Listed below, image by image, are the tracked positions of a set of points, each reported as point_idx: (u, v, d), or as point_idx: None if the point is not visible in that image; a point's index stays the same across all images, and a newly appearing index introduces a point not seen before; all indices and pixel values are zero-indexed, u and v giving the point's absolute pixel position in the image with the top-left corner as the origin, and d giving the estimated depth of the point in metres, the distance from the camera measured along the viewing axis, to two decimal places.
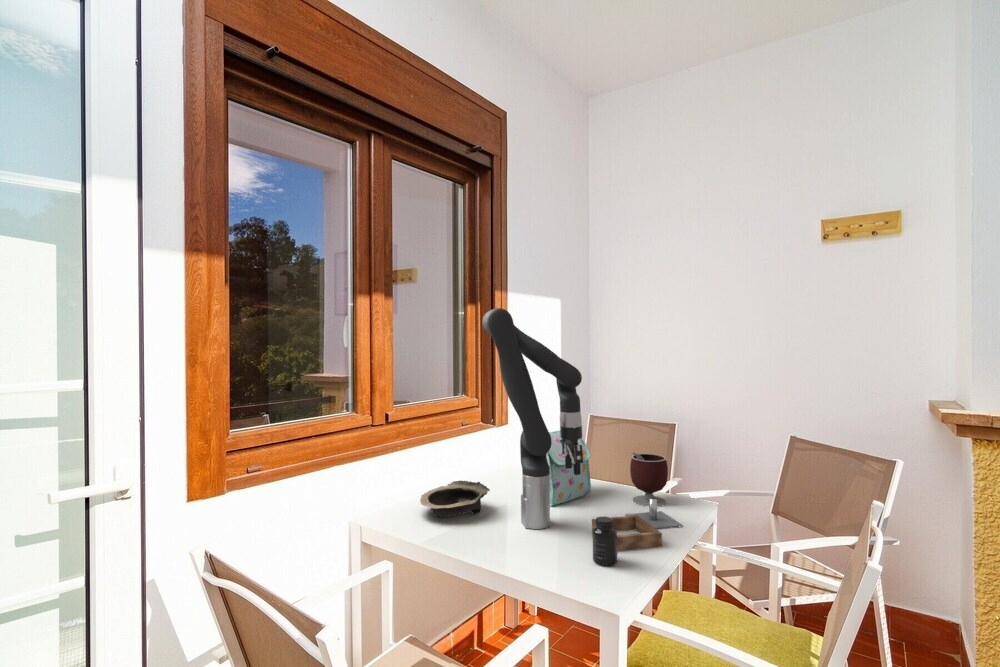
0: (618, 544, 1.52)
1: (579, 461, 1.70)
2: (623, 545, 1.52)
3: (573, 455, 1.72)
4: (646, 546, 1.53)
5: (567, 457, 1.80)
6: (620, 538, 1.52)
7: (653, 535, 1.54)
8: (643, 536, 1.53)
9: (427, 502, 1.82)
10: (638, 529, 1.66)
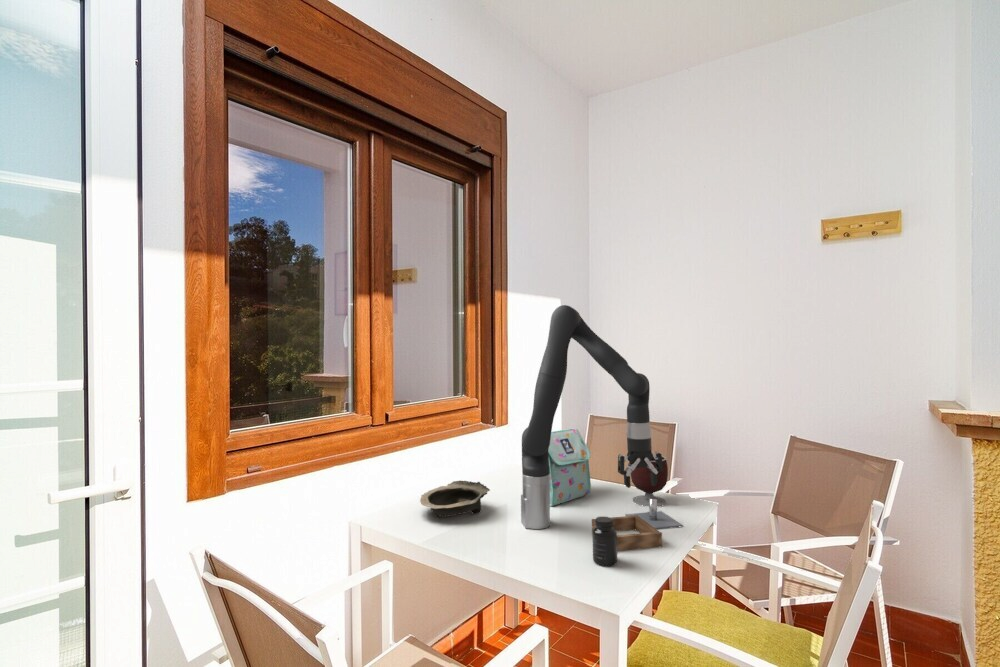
0: (618, 544, 1.52)
1: None
2: (623, 545, 1.52)
3: None
4: (646, 546, 1.53)
5: None
6: (620, 538, 1.52)
7: (653, 535, 1.54)
8: (643, 536, 1.53)
9: (427, 502, 1.82)
10: (638, 529, 1.66)
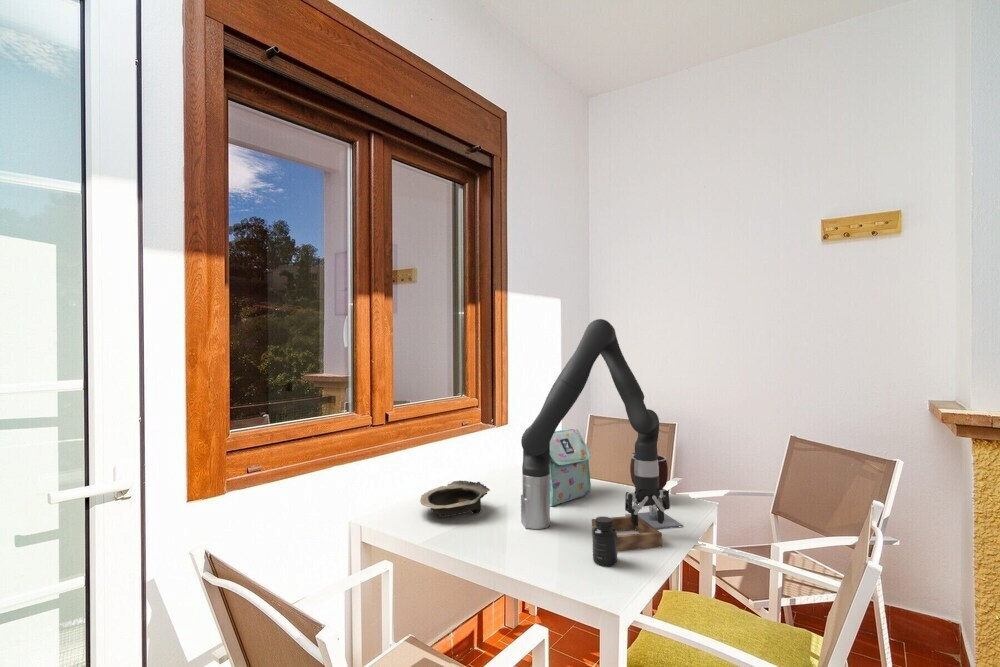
0: (618, 544, 1.52)
1: None
2: (623, 545, 1.52)
3: None
4: (646, 546, 1.53)
5: None
6: (620, 538, 1.52)
7: (653, 535, 1.54)
8: (643, 536, 1.53)
9: (427, 502, 1.82)
10: (638, 529, 1.66)
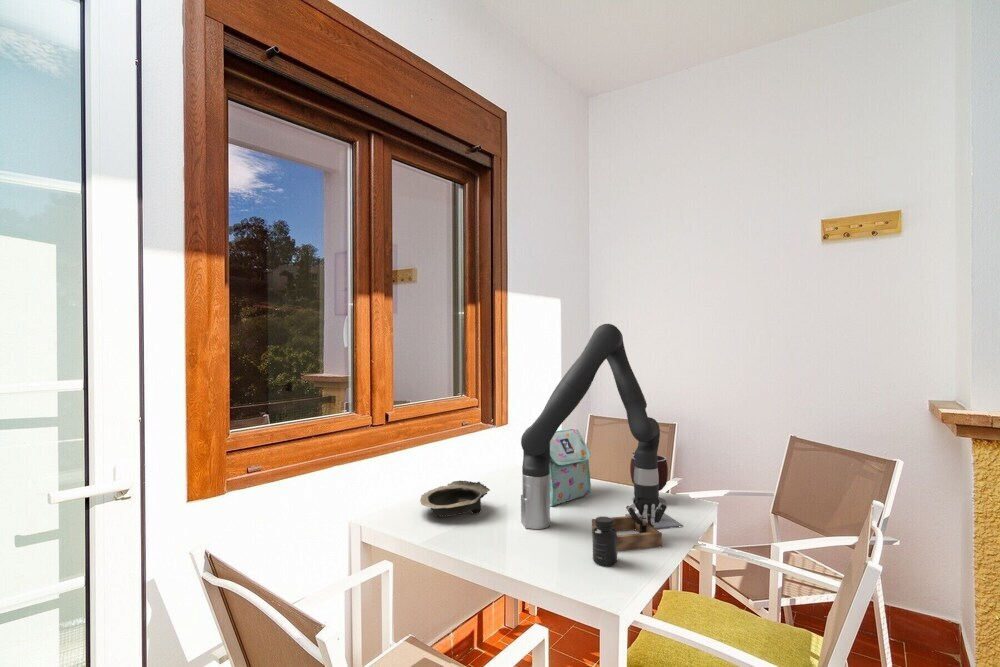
0: (618, 544, 1.52)
1: None
2: (623, 545, 1.52)
3: None
4: (646, 546, 1.53)
5: None
6: (620, 538, 1.52)
7: (653, 535, 1.54)
8: (643, 536, 1.53)
9: (427, 502, 1.82)
10: (638, 529, 1.66)
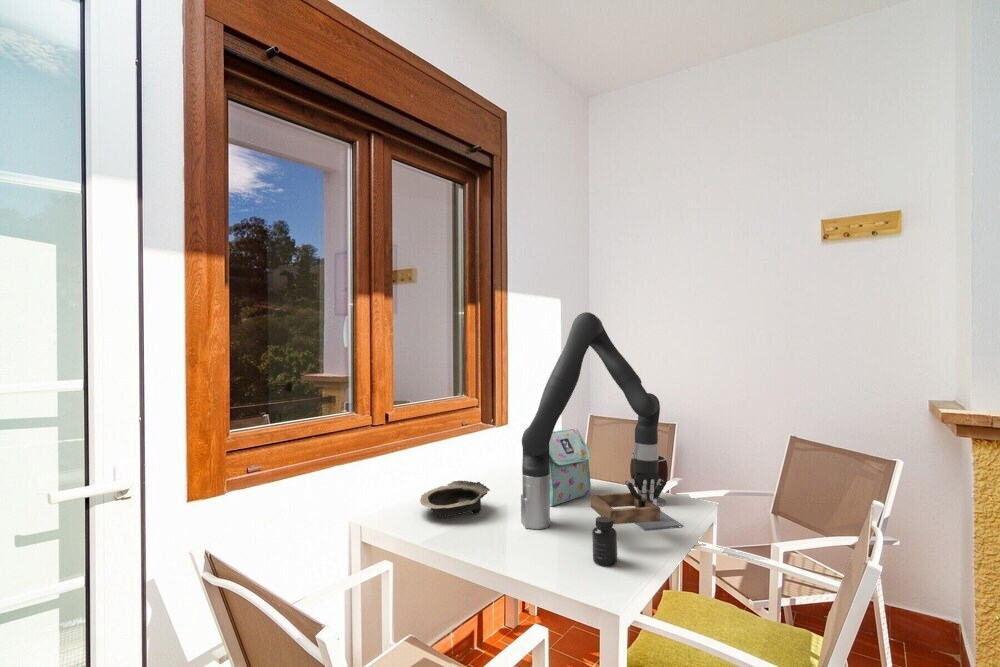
0: (616, 517, 1.52)
1: None
2: (621, 519, 1.52)
3: None
4: (644, 520, 1.53)
5: None
6: (618, 511, 1.52)
7: (651, 510, 1.54)
8: (641, 510, 1.53)
9: (427, 502, 1.82)
10: (637, 505, 1.66)
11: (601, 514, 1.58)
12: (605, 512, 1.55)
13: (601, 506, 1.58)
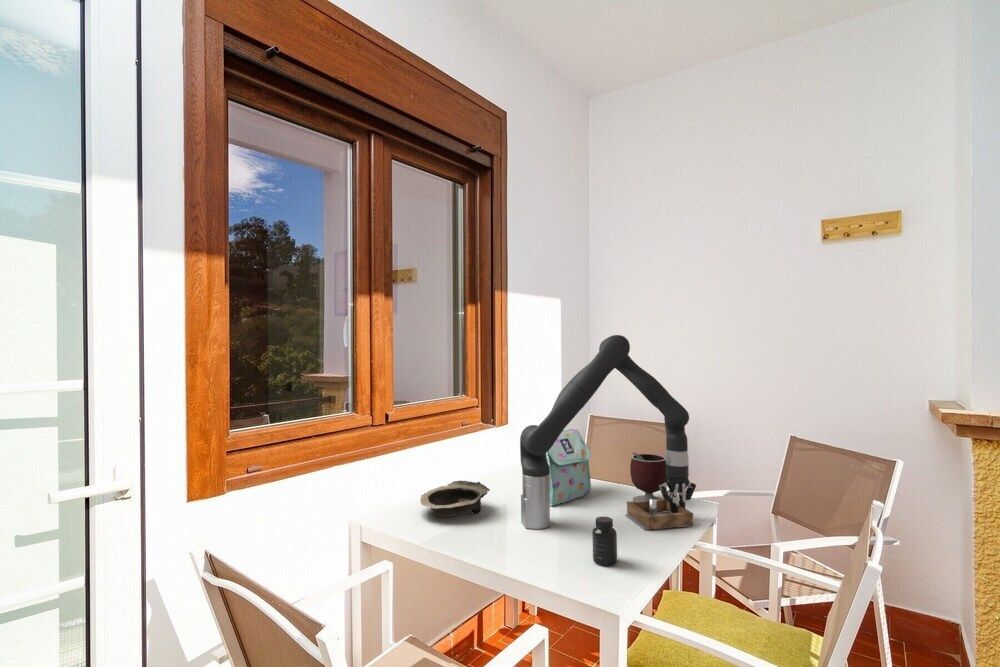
0: (654, 523, 1.67)
1: None
2: (658, 524, 1.67)
3: None
4: (679, 525, 1.69)
5: None
6: (656, 517, 1.67)
7: (685, 515, 1.69)
8: (676, 516, 1.69)
9: (427, 502, 1.82)
10: (669, 511, 1.82)
11: (638, 520, 1.74)
12: (642, 518, 1.71)
13: (639, 513, 1.73)
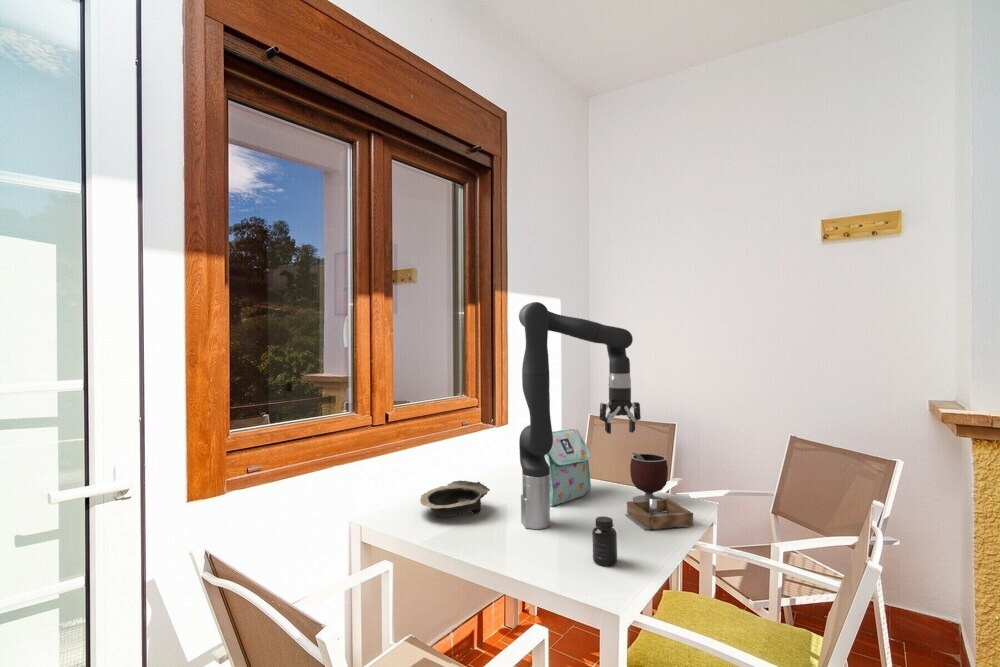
0: (654, 523, 1.67)
1: None
2: (658, 524, 1.67)
3: None
4: (679, 525, 1.69)
5: None
6: (656, 517, 1.67)
7: (685, 515, 1.69)
8: (676, 516, 1.69)
9: (427, 502, 1.82)
10: (669, 511, 1.82)
11: (638, 520, 1.74)
12: (642, 518, 1.71)
13: (639, 513, 1.73)
